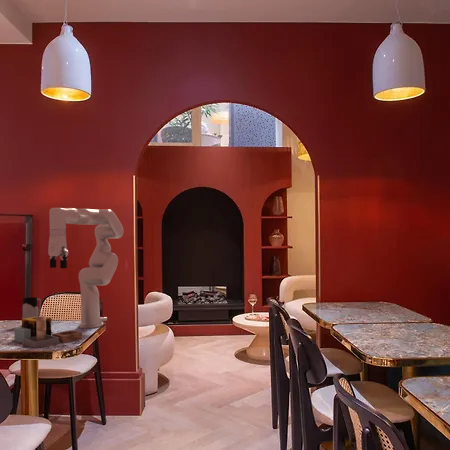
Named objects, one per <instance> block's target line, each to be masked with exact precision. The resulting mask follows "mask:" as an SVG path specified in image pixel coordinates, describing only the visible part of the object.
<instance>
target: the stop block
mask: <svg viewBox="0 0 450 450" xmlns="http://www.w3.org/2000/svg"><path fill="white" fill-rule="evenodd" d="M13 330H14V331H13V332H14V335H13V337H14V341H15V342H17V343H22V344H24V342H23V339H24V338H30V337H31V329H27V328H23V327H22V326H19V327H14V329H13Z"/></svg>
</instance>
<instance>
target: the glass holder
mask: <svg viewBox="0 0 450 450" xmlns="http://www.w3.org/2000/svg"><path fill="white" fill-rule="evenodd" d="M38 301H39V303H38ZM38 304H39V307H38ZM41 308H42V300H41V299H40V298H38V297H23V298H22V319H25V318H31V317H37V316H39V314H40V312H41Z"/></svg>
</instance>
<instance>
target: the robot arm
mask: <svg viewBox="0 0 450 450" xmlns="http://www.w3.org/2000/svg"><path fill="white" fill-rule="evenodd" d="M67 224H68V225H85V226H86V225H88V226H89V225H92V226H95V228H94V236H95V240H96V246H95V248H94V250H93V252H92V254H91V255H90V258H89V261H88V265H89V267H84V268H82V269H80V271H79V272H78V282H79V285H80V288H79V289H80V319H81V321H80V322H81V323H78V326H77V327H78V328H79V329H80V328H81V329H94V328H100V327H102V326H104V325H103V322H105V321H108V317H107V316H104V317H102V316H100V292H99V289H98V287H97V286H107V285H109V284H110V282H111V280H112V279H113V276H114V274H115V272H116V270H117V267H118V264H119V256H117V254H116V253H115V252H112V246H111V244H110V242H109V241H108V240H109V239H110V240H112V239H120V238H122V237H123V235H124V233H125V232H124V227H123V224H122V223H121V221H120V219H119V218H118V217H117V215H116V213H115V212H114V211H113V210H112V209H109V208H108V209H107V208H106V209H105V208H104V209H92V208H73V207H65V208H63V207H51V208H50V209H49V239H48V247H47V248H48V251H47V252H48V253H47V254H48V258H49V268H51V269H55V268H57V257H60V261H59V264H60V265H59V266H60V267H59V268H60V270H61V269H68V268H67V267H68V262H67V261H68V257H69V253H70V252H69V250H68V248H67V247H68V245H67ZM96 225H97V226H96Z"/></svg>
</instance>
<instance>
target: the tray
mask: <svg viewBox="0 0 450 450" xmlns="http://www.w3.org/2000/svg"><path fill="white" fill-rule="evenodd" d="M23 342H24V343H23V346H26V347H29V348H33V349H39V348H44V347H51V346H53V345H54V346H55V345H59V344H60V342H59V337H55V336H52V334H51V335H46V340H42V341H37V336H36V337H30V338H24V339H23Z"/></svg>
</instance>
